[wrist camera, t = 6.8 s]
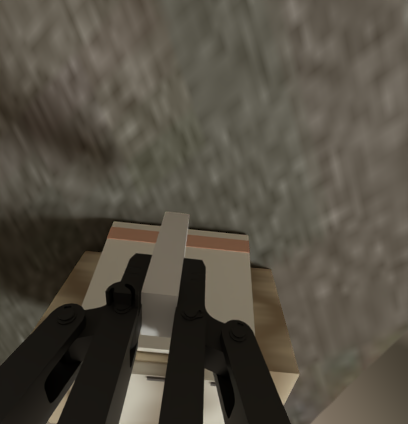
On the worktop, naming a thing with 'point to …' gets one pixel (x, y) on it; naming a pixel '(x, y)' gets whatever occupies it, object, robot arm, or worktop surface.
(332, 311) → the worktop surface
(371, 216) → the worktop surface
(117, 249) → the stub
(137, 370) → the ticket block
